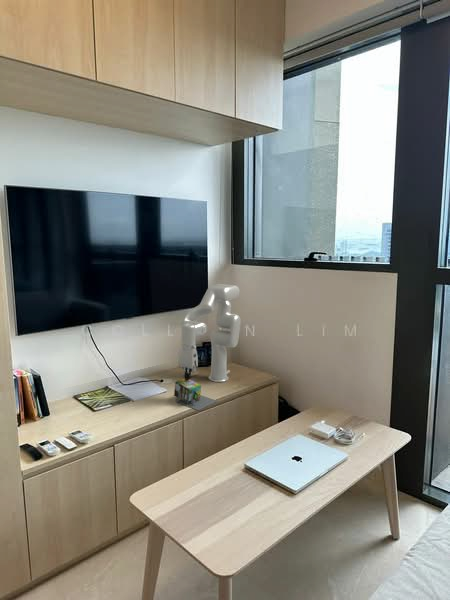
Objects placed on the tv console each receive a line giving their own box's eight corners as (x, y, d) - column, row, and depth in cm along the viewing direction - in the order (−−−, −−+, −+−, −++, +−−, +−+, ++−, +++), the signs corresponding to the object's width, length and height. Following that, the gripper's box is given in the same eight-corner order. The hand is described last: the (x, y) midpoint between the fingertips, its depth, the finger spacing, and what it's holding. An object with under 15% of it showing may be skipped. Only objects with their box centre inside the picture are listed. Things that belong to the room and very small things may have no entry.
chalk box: (185, 391, 226) (204, 403, 217) (173, 396, 219) (191, 408, 210) (187, 376, 224) (206, 387, 214) (175, 380, 217) (193, 392, 208)
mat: (195, 393, 228) (195, 391, 228) (217, 401, 219) (217, 399, 219) (176, 402, 215) (176, 400, 215) (198, 410, 206) (198, 408, 206)
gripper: (203, 348, 215) (202, 380, 218) (182, 342, 224) (182, 374, 227) (194, 350, 209) (193, 384, 212) (173, 345, 218) (172, 377, 221)
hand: (187, 379), depth 219 cm, fingers closed
